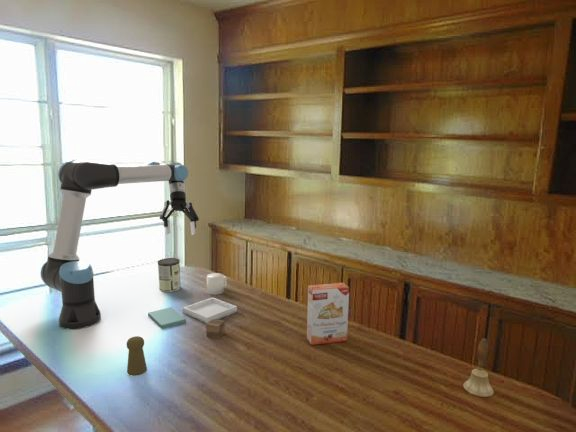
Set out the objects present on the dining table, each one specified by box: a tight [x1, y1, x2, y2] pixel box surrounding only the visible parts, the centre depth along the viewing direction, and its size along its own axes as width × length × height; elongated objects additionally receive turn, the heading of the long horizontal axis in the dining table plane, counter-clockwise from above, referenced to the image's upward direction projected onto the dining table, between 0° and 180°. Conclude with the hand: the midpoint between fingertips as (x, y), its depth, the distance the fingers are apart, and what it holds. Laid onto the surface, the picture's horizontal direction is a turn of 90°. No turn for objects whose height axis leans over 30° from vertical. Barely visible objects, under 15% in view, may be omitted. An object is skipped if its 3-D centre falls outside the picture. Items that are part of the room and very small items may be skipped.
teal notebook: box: [147, 307, 187, 329], centre depth 175 cm, size 10×15×2 cm, turn 37°
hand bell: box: [462, 337, 494, 398], centre depth 126 cm, size 8×8×16 cm
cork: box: [126, 335, 148, 377], centre depth 135 cm, size 6×6×11 cm
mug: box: [206, 272, 228, 296], centre depth 207 cm, size 10×8×8 cm
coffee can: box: [157, 257, 181, 293], centre depth 210 cm, size 10×10×14 cm
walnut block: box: [205, 319, 226, 339], centre depth 161 cm, size 5×5×5 cm
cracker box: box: [306, 282, 350, 346], centre depth 156 cm, size 14×6×21 cm, turn 105°
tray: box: [182, 296, 238, 324], centre depth 182 cm, size 16×16×2 cm
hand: (181, 234), depth 210 cm, fingers open, 13 cm apart
